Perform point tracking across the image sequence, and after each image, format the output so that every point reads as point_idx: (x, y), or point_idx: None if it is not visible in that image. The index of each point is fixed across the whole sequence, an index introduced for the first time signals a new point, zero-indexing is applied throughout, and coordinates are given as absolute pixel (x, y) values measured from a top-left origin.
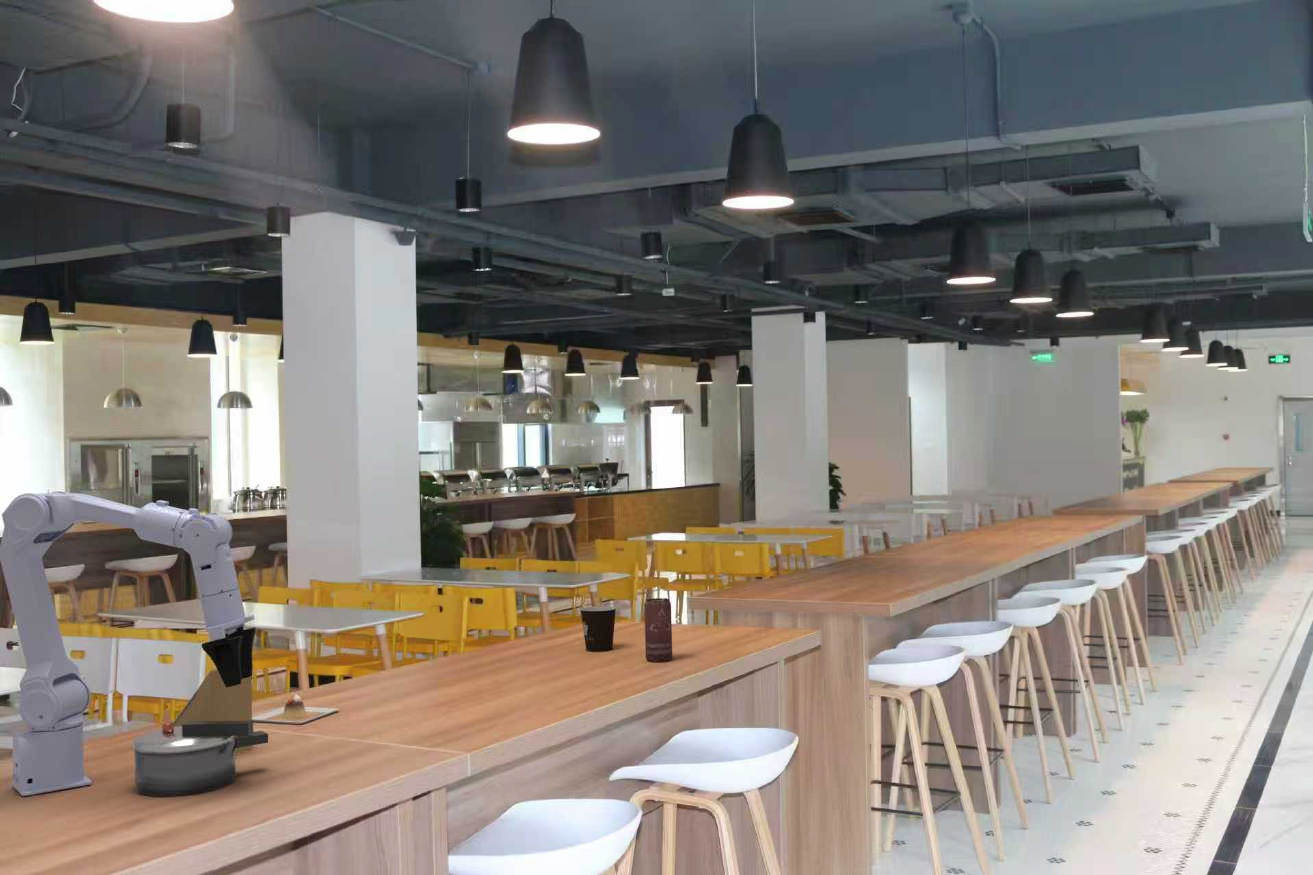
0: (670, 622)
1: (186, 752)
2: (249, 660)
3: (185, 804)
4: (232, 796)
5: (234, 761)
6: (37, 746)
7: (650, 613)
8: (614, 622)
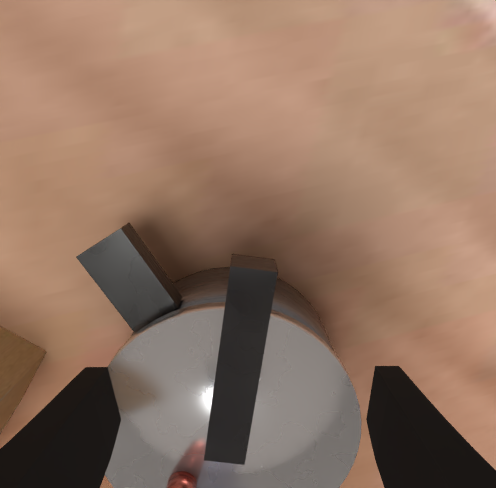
0: None
1: None
2: (56, 447)
3: (395, 319)
4: (361, 240)
5: (222, 282)
6: None
7: None
8: None
